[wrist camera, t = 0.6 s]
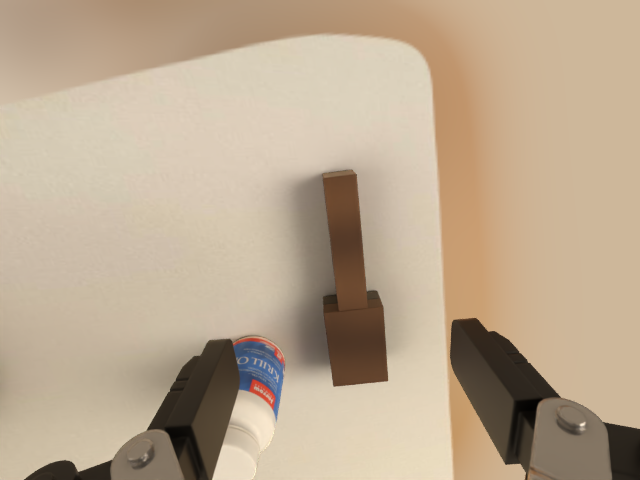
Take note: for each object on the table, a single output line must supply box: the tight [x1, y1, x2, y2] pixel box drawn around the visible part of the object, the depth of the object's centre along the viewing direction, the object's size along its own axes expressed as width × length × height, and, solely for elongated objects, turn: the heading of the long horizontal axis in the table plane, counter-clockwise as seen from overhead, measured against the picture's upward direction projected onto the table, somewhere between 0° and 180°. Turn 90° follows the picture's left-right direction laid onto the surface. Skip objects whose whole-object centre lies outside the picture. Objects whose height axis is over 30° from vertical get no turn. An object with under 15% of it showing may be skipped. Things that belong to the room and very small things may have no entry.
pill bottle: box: [212, 336, 285, 480], centre depth 24 cm, size 6×5×10 cm
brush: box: [322, 170, 388, 387], centre depth 24 cm, size 17×4×3 cm, turn 7°
